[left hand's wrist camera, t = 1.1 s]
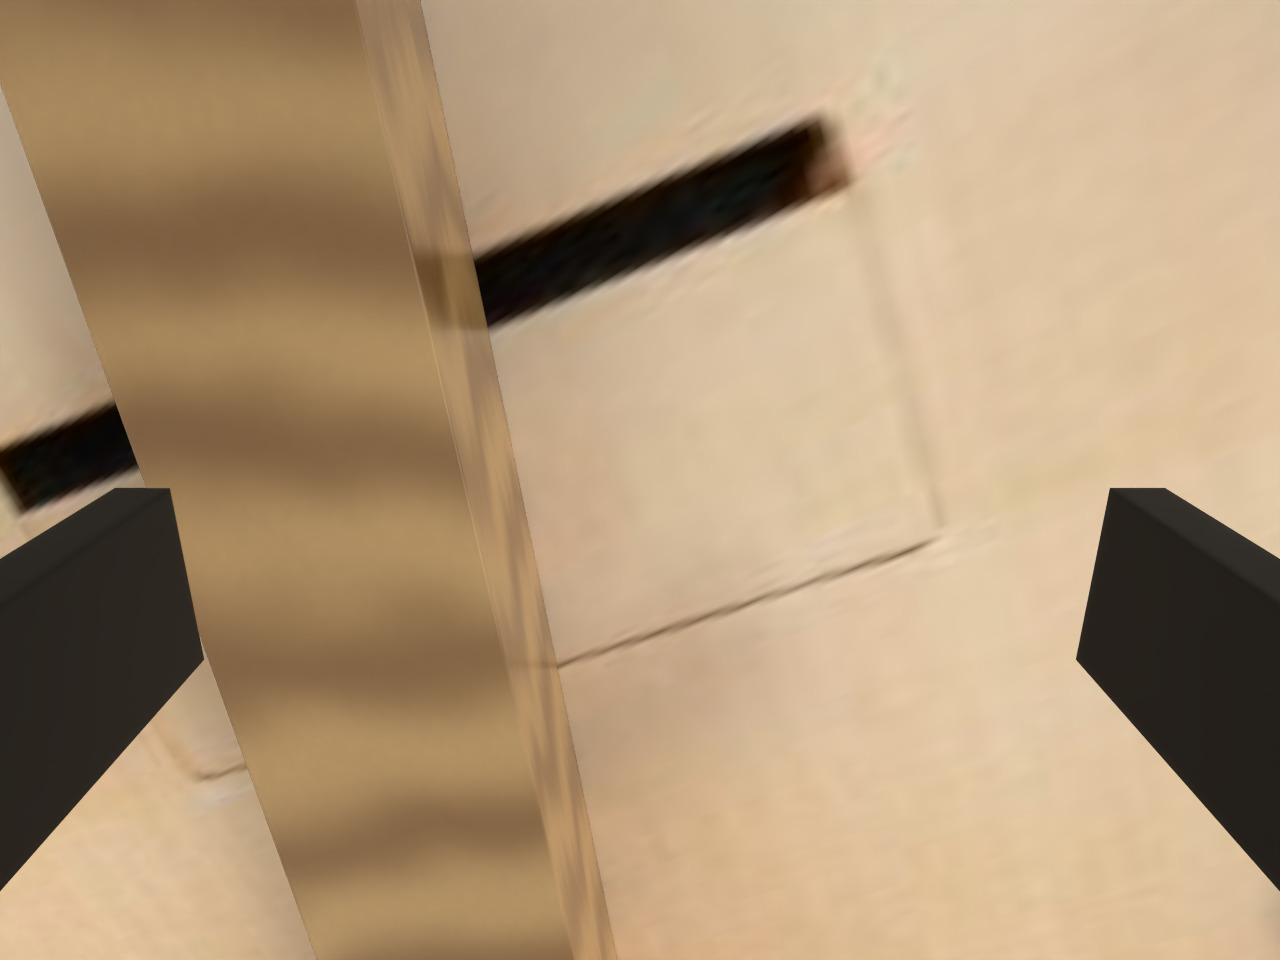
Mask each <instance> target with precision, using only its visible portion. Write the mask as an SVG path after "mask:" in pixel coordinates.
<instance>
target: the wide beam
mask: <svg viewBox="0 0 1280 960" xmlns="http://www.w3.org/2000/svg"><path fill="white" fill-rule="evenodd" d="M0 84H1V87H2V89H3V92H4V95H5V98H6V100H7V103H8V106H9V109H10V112H11V114H12V117H13V120H14V123H15V125H16V128H17V131H18V134H19V136H20V139H21V142H22V145H23V148H24V150H25V153H26V156H27V159H28V161H29V164H30V167H31V170H32V172H33V175H34V178H35V181H36V184H37V186H38V189H39V192H40V195H41V197H42V200H43V203H44V206H45V208H46V211H47V214H48V217H49V219H50V222H51V225H52V228H53V231H54V233H55V236H56V239H57V242H58V244H59V247H60V250H61V253H62V255H63V258H64V261H65V264H66V267H67V269H68V272H69V275H70V278H71V280H72V283H73V286H74V289H75V291H76V294H77V297H78V300H79V303H80V305H81V308H82V311H83V314H84V316H85V319H86V322H87V325H88V327H89V330H90V333H91V336H92V339H93V341H94V344H95V347H96V350H97V352H98V355H99V358H100V361H101V363H102V366H103V369H104V372H105V375H106V377H107V380H108V383H109V386H110V388H111V391H112V394H113V397H114V399H115V402H116V405H117V408H118V410H119V413H120V416H121V419H122V422H123V424H124V427H125V430H126V433H127V435H128V438H129V441H130V444H131V446H132V449H133V452H134V455H135V458H136V460H137V463H138V466H139V469H140V471H141V474H142V477H143V480H144V482H145V485H146V488H170V491H171V496H172V501H173V506H174V511H175V516H176V521H177V526H178V531H179V536H180V541H181V546H182V551H183V556H184V561H185V566H186V571H187V576H188V581H189V586H190V592H191V597H192V602H193V607H194V612H195V617H196V622H197V627H198V632H199V635H200V637H201V640H202V643H203V646H204V649H205V651H206V654H207V657H208V660H209V662H210V665H211V668H212V671H213V673H214V676H215V679H216V682H217V685H218V687H219V690H220V693H221V696H222V698H223V701H224V704H225V707H226V709H227V712H228V715H229V718H230V721H231V723H232V726H233V729H234V732H235V734H236V737H237V740H238V743H239V745H240V748H241V751H242V754H243V756H244V759H245V762H246V765H247V768H248V770H249V773H250V776H251V779H252V781H253V784H254V787H255V790H256V792H257V795H258V798H259V801H260V804H261V806H262V809H263V812H264V815H265V817H266V820H267V823H268V826H269V828H270V831H271V834H272V837H273V840H274V842H275V845H276V848H277V851H278V853H279V856H280V859H281V862H282V864H283V867H284V870H285V873H286V876H287V878H288V881H289V884H290V887H291V889H292V892H293V895H294V898H295V900H296V903H297V906H298V909H299V912H300V914H301V917H302V920H303V923H304V925H305V928H306V931H307V934H308V936H309V939H310V942H311V945H312V947H313V950H314V953H315V956H316V959H317V960H617V955H616V951H615V946H614V941H613V936H612V931H611V926H610V921H609V917H608V912H607V907H606V902H605V897H604V892H603V887H602V883H601V878H600V873H599V868H598V863H597V858H596V853H595V848H594V844H593V839H592V834H591V829H590V824H589V819H588V814H587V810H586V805H585V800H584V795H583V790H582V785H581V780H580V776H579V771H578V766H577V761H576V756H575V751H574V746H573V742H572V737H571V732H570V727H569V722H568V717H567V712H566V707H565V703H564V698H563V693H562V688H561V683H560V678H559V673H558V669H557V664H556V659H555V654H554V649H553V644H552V639H551V635H550V630H549V625H548V620H547V615H546V610H545V605H544V601H543V596H542V591H541V586H540V581H539V576H538V571H537V566H536V562H535V557H534V552H533V547H532V542H531V537H530V532H529V528H528V523H527V518H526V513H525V508H524V503H523V498H522V494H521V489H520V484H519V479H518V474H517V469H516V464H515V459H514V455H513V450H512V445H511V440H510V435H509V430H508V425H507V421H506V416H505V411H504V406H503V401H502V396H501V391H500V387H499V382H498V377H497V372H496V367H495V362H494V357H493V353H492V348H491V343H490V338H489V333H488V328H487V323H486V318H485V314H484V309H483V304H482V299H481V294H480V289H479V284H478V280H477V275H476V270H475V265H474V260H473V255H472V250H471V246H470V241H469V236H468V231H467V226H466V221H465V216H464V212H463V207H462V202H461V197H460V192H459V187H458V182H457V177H456V173H455V168H454V163H453V158H452V153H451V148H450V143H449V139H448V134H447V129H446V124H445V119H444V114H443V109H442V105H441V100H440V95H439V90H438V85H437V80H436V75H435V71H434V66H433V61H432V56H431V51H430V46H429V41H428V36H427V32H426V27H425V22H424V17H423V12H422V7H421V2H420V0H0Z"/></svg>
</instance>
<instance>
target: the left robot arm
mask: <svg viewBox="0 0 1280 960" xmlns="http://www.w3.org/2000/svg"><path fill="white" fill-rule="evenodd" d="M203 660H204V657H203V652H202V647H201V642H200V637H199V632H198V627H197V622H196V617H195V612H194V607H193V602H192V597H191V592H190V586H189V581H188V576H187V571H186V566H185V561H184V556H183V551H182V546H181V541H180V536H179V531H178V526H177V521H176V516H175V511H174V506H173V501H172V496H171V491H170V488H114V489H113V490H111V491H110V492H108V493H106V494H105V495H103V496H101V497H100V498H98V499H97V500H95V501H93V502H92V503H90V504H88V505H87V506H85V507H84V508H82V509H80V510H79V511H77V512H75V513H74V514H72V515H71V516H69V517H67V518H66V519H64V520H63V521H61V522H59V523H58V524H56V525H54V526H53V527H51V528H50V529H48V530H46V531H45V532H43V533H41V534H40V535H38V536H37V537H35V538H33V539H32V540H30V541H28V542H27V543H25V544H24V545H22V546H20V547H19V548H17V549H16V550H14V551H12V552H11V553H9V554H7V555H6V556H4V557H3V558H1V559H0V891H1V890H2V889H3V887H4V886H5V885H6V884H7V883H8V882H9V881H10V879H11V878H12V877H13V876H14V875H15V874H16V873H17V871H18V870H19V869H20V868H21V867H22V866H23V865H24V864H25V862H26V861H27V860H28V859H29V858H30V857H31V856H32V854H33V853H34V852H35V851H36V850H37V849H38V848H39V846H40V845H41V844H42V843H43V842H44V841H45V840H46V839H47V837H48V836H49V835H50V834H51V833H52V832H53V831H54V829H55V828H56V827H57V826H58V825H59V824H60V823H61V821H62V820H63V819H64V818H65V817H66V816H67V815H68V814H69V812H70V811H71V810H72V809H73V808H74V807H75V806H76V804H77V803H78V802H79V801H80V800H81V799H82V798H83V796H84V795H85V794H86V793H87V792H88V791H89V790H90V789H91V787H92V786H93V785H94V784H95V783H96V782H97V781H98V779H99V778H100V777H101V776H102V775H103V774H104V773H105V771H106V770H107V769H108V768H109V767H110V766H111V765H112V764H113V762H114V761H115V760H116V759H117V758H118V757H119V756H120V754H121V753H122V752H123V751H124V750H125V749H126V748H127V746H128V745H129V744H130V743H131V742H132V741H133V740H134V739H135V737H136V736H137V735H138V734H139V733H140V732H141V731H142V729H143V728H144V727H145V726H146V725H147V724H148V723H149V721H150V720H151V719H152V718H153V717H154V716H155V715H156V714H157V712H158V711H159V710H160V709H161V708H162V707H163V706H164V704H165V703H166V702H167V701H168V700H169V699H170V698H171V696H172V695H173V694H174V693H175V692H176V691H177V690H178V689H179V687H180V686H181V685H182V684H183V683H184V682H185V681H186V679H187V678H188V677H189V676H190V675H191V674H192V673H193V672H194V670H195V669H196V668H197V667H198V666H199V665H200V664H201V662H202V661H203ZM1076 660H1077V661H1078V662H1079V664H1080V665H1081V666H1082V667H1083V668H1084V669H1085V670H1086V672H1087V673H1088V674H1089V675H1090V676H1091V677H1092V678H1093V679H1094V681H1095V682H1096V683H1097V684H1098V685H1099V686H1100V687H1101V689H1102V690H1103V691H1104V692H1105V693H1106V694H1107V695H1108V697H1109V698H1110V699H1111V700H1112V701H1113V702H1114V703H1115V704H1116V706H1117V707H1118V708H1119V709H1120V710H1121V711H1122V712H1123V714H1124V715H1125V716H1126V717H1127V718H1128V719H1129V720H1130V721H1131V723H1132V724H1133V725H1134V726H1135V727H1136V728H1137V729H1138V731H1139V732H1140V733H1141V734H1142V735H1143V736H1144V737H1145V739H1146V740H1147V741H1148V742H1149V743H1150V744H1151V745H1152V746H1153V748H1154V749H1155V750H1156V751H1157V752H1158V753H1159V754H1160V756H1161V757H1162V758H1163V759H1164V760H1165V761H1166V762H1167V764H1168V765H1169V766H1170V767H1171V768H1172V769H1173V770H1174V771H1175V773H1176V774H1177V775H1178V776H1179V777H1180V778H1181V779H1182V781H1183V782H1184V783H1185V784H1186V785H1187V786H1188V787H1189V789H1190V790H1191V791H1192V792H1193V793H1194V794H1195V795H1196V796H1197V798H1198V799H1199V800H1200V801H1201V802H1202V803H1203V804H1204V806H1205V807H1206V808H1207V809H1208V810H1209V811H1210V812H1211V814H1212V815H1213V816H1214V817H1215V818H1216V819H1217V820H1218V821H1219V823H1220V824H1221V825H1222V826H1223V827H1224V828H1225V829H1226V831H1227V832H1228V833H1229V834H1230V835H1231V836H1232V837H1233V839H1234V840H1235V841H1236V842H1237V843H1238V844H1239V845H1240V846H1241V848H1242V849H1243V850H1244V851H1245V852H1246V853H1247V854H1248V856H1249V857H1250V858H1251V859H1252V860H1253V861H1254V862H1255V864H1256V865H1257V866H1258V867H1259V868H1260V869H1261V870H1262V871H1263V873H1264V874H1265V875H1266V876H1267V877H1268V878H1269V879H1270V881H1271V882H1272V883H1273V884H1274V885H1275V886H1276V887H1277V889H1278V890H1279V891H1280V559H1279V558H1277V557H1276V556H1274V555H1273V554H1271V553H1269V552H1268V551H1266V550H1264V549H1263V548H1261V547H1260V546H1258V545H1256V544H1255V543H1253V542H1252V541H1250V540H1248V539H1247V538H1245V537H1243V536H1242V535H1240V534H1239V533H1237V532H1235V531H1234V530H1232V529H1230V528H1229V527H1227V526H1226V525H1224V524H1222V523H1221V522H1219V521H1217V520H1216V519H1214V518H1213V517H1211V516H1209V515H1208V514H1206V513H1205V512H1203V511H1201V510H1200V509H1198V508H1196V507H1195V506H1193V505H1192V504H1190V503H1188V502H1187V501H1185V500H1183V499H1182V498H1180V497H1179V496H1177V495H1175V494H1174V493H1172V492H1170V491H1169V490H1167V489H1166V488H1110V491H1109V496H1108V501H1107V506H1106V511H1105V516H1104V521H1103V526H1102V531H1101V536H1100V541H1099V546H1098V551H1097V556H1096V561H1095V566H1094V571H1093V576H1092V581H1091V586H1090V592H1089V597H1088V602H1087V607H1086V612H1085V617H1084V622H1083V627H1082V632H1081V637H1080V642H1079V647H1078V652H1077V657H1076Z"/></svg>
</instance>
